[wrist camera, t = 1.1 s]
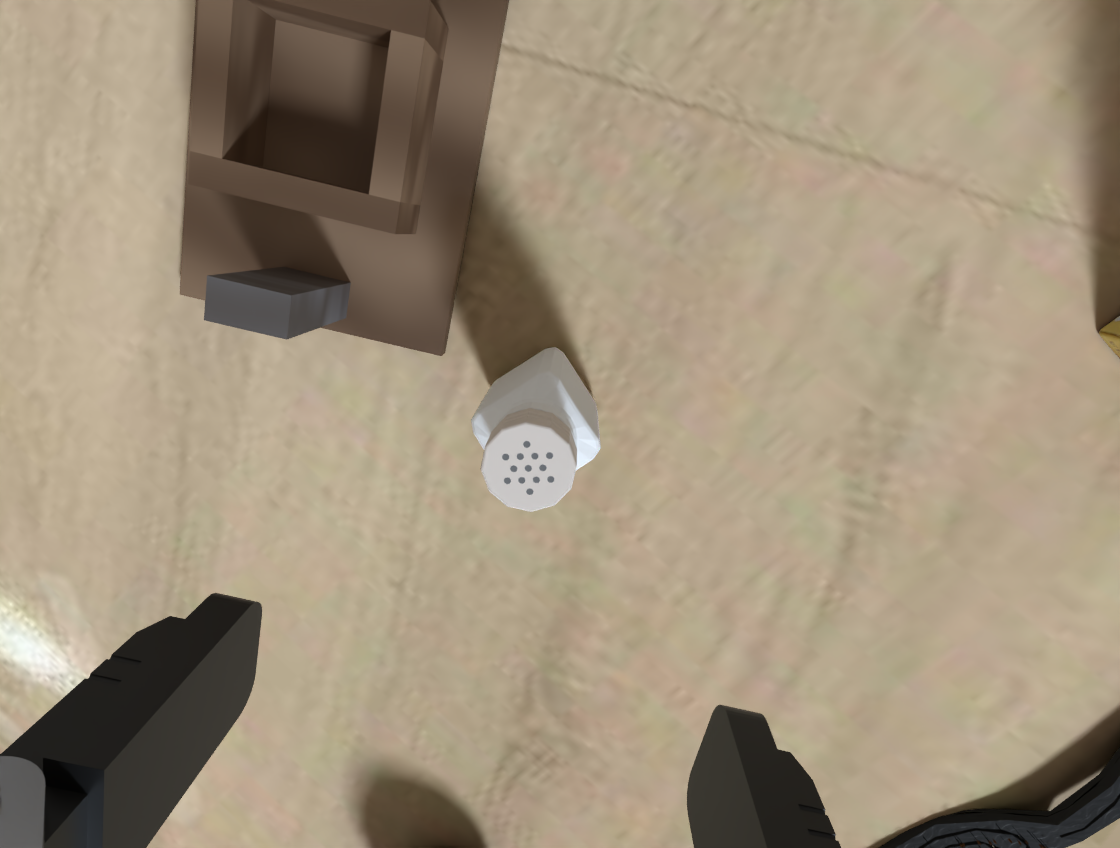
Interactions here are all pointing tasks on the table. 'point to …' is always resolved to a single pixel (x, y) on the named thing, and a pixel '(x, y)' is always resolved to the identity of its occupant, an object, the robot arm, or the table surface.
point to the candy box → (1112, 335)
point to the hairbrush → (1025, 821)
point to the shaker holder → (335, 162)
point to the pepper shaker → (536, 431)
